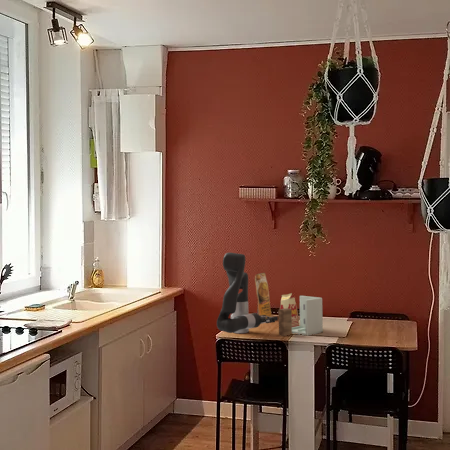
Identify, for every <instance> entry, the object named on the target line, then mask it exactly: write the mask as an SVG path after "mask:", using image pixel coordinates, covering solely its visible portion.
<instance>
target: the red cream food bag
mask: <svg viewBox="0 0 450 450" xmlns="http://www.w3.org/2000/svg"><path fill="white" fill-rule="evenodd" d="M292 294H293V293H292V292H291V293H288V294H282V295H280V296H281V299H280V307H279V309H284V308H288V309H291V313H292V327H297V326H300V317H299V313H298V307H297V303H296V298H295V296H293V295H292Z"/></svg>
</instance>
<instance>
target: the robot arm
mask: <svg viewBox="0 0 450 450" xmlns="http://www.w3.org/2000/svg"><path fill="white" fill-rule="evenodd" d="M246 262H247V261H246V255H245V254H244V253H243V254H242V253H235V252H226V253H225V254H224V256H223V258H222V267H223V269H224V271H225V272H226V277H227V279H228V285H229V287H228V288H227V289H226V290H225V292H224V295H223V297H222V305H221V309H220V312H219V315H218V316H217V319H216V328H217V329H218V330H219V331H221V332H225V333H228V334H234V333H235V334H246V333H249V329H255V328H258V327H260V325H261V324H271V323H275V322H276V321H277V322H278V321H279V316H277V315H276V316H272V317H269V316H266V315H258V312H252V313H249V275H248V272H245V269H246V268H245V266H246ZM240 290H242V291H240ZM266 317H267V318H266Z"/></svg>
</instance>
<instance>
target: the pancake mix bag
mask: <svg viewBox="0 0 450 450" xmlns="http://www.w3.org/2000/svg"><path fill="white" fill-rule="evenodd" d="M254 284H255V294H256V299H257V314H258V315H266V316H269V317H273V316H272V309H271V303H270V302H271V301H270V290H269V284H268V280H267V276H266V272H261V273H257V274H255V276H254ZM266 318H267V317H266Z"/></svg>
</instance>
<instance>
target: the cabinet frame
mask: <svg viewBox="0 0 450 450" xmlns="http://www.w3.org/2000/svg"><path fill="white" fill-rule="evenodd" d="M299 324H300V326H297V327H292V334H294V333H298V334H297V335H300V334H302V335H301V336H306V335H307V336H306V337H308V336H312V334H313V335H317V334H320V333H321V332H322V333H323V332H324V330H323V329H324V328H323V326H324V325H323V298H322V297H319V296H318V297H317V296H308V295H307V296H306V295H299Z"/></svg>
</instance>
